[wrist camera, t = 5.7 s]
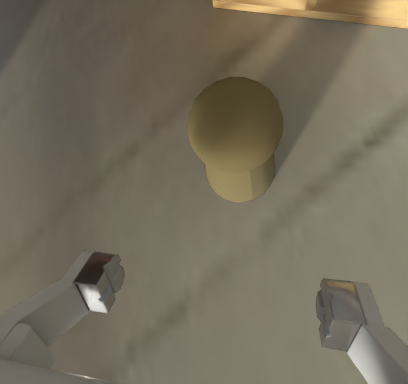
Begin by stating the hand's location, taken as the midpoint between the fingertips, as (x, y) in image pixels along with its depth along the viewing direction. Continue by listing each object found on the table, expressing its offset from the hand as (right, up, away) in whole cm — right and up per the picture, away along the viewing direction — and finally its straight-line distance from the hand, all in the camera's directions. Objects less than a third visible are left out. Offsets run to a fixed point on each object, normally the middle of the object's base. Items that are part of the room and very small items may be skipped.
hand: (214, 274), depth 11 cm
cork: (+3, +5, +13) cm, 15 cm away
